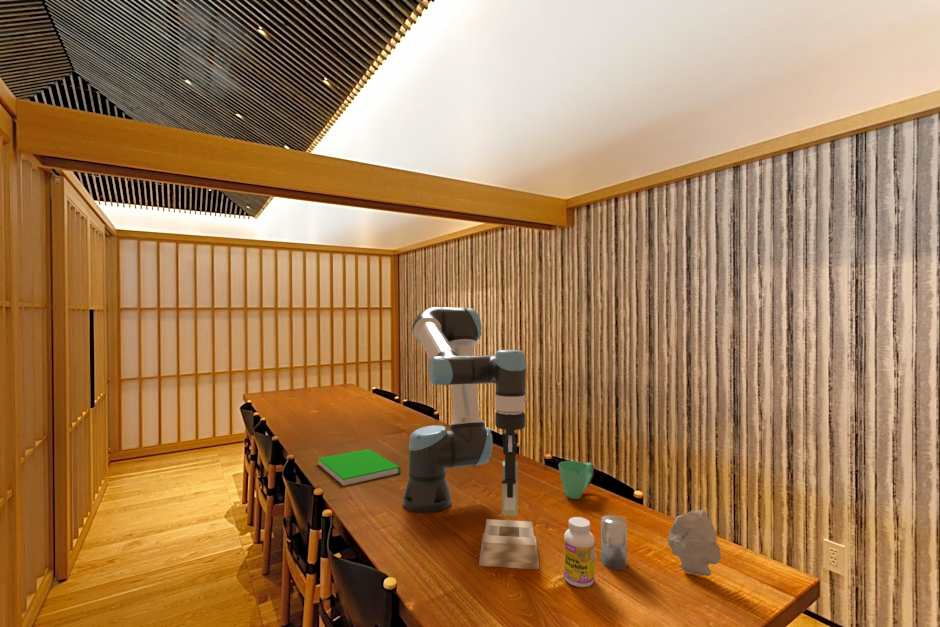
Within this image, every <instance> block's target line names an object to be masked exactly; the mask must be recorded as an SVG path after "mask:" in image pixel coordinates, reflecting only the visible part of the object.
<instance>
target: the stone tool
mask: <svg viewBox="0 0 940 627" xmlns="http://www.w3.org/2000/svg"><path fill="white" fill-rule="evenodd" d="M667 542H668V544H667V545H668V546H669V548H670V549H671V552H672V554H673V555H674V556H678V558H679V559H680V562H681V564H680V568H681V569H682V570H683V571H684V572H685V573H689V574H691V575H692V576H694V575H696V576H697V575H699V576H701V577H703V576H705V577H709V576H711V575H712V570H711V569H710V567H709V564H711V565H717V564H718V563H719V562H720V560H721V558H722V555H721V553H722V551H721V547H720V545H719V544H717V543H718V542H717V531H716V529H715V527H714V525H713V524H712V522H711V520H710V518H709V516H708V513H707V511H706V510H704V509H700V510H695V509H692V510H691V511H688V512H687V513H684V514H681V515H677V516H676V517H675V519H674V521H673V523H672V526H671V527H670V530H669V534H668V536H667Z"/></svg>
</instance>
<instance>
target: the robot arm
mask: <svg viewBox="0 0 940 627" xmlns="http://www.w3.org/2000/svg"><path fill="white" fill-rule="evenodd" d="M482 329H483V328H482V323H481V318H480V315H479V314H478V312H477V311H476V309H473V308H469V307H468V308H467V307H443V306H442V307H441V306H440V307H439V306H433V307H429V308H426V309H424V310H422V311H421V312H420V313H418V314H417V315H416V317H415V318H414V320H413V321H412V325H411V331H412V335H413V337H414V339H415V340H416V341H417V342H418V343H419V344H421V346H422V347H423V349H424V351H425V353H426V355H427V357H428V358H429V360H428V361H429V362H428V366H427V367H428V369H427V370H428V378H429V382H430V383H431V384H432V385H436V386H438V385H439V386H448V385H449V386H450V385H451V396H452V397H451V398H452V409H453V410H452V411H453V420H452V421H451V423H450V424H449V430H447V428H446V426H444V425H439V424H438V425H435V424H434V425H426V426H423V427H420V428H417V429H415V430H414V431H412V432H411V434H410V436H409V443H408V444H409V446H408V452H409V453H408V454H409V455H408V456H409V460H408V466H409V467H408V479H407V483H406V487H405V490H404V493H403V496H402V505H403V507H404V508H405V509H406V510H409V511H411V512H414V513H420V514H421V513H422V514H423V513H424V514H428V513H431V514H432V513H437V512H440V511H443V510H446V509H447V508H448V507H450V505H451V504H452V494H451V490H450V487H449V484H448V481H447V476H446V475H447V472H446V471H447V469H450V468H451V469H452V468H465V467H476V466H481V465H484V464H487V462H489V461H490V459H491V455H492V453H493V452H492V451H493V444H494V443H493V434H492V431H491V429H490V428H489V427H486V426H485V424H486V423H485V421H484V420H483V419H482V418H481V417H480V411H479V399H478V397H479V396H478V390H477V389H478V387H477V384H495V395H494V398H495V399H494V401H495V402H494V403H495V404H494V406H495V408H494V409H495V411H496V412H495V415H494V416H495V418H494V420H495V421H494V422H495V425H494V426H495V427H496V428H497V429H500V430H505V432H503V433H502V436H501V437H502V438H501V441H502V445H503V446H502V449H503V450H502V453H503V455H504V461H505V480H504V481H502V480H501V485H502V484H504V510H515V491H516V480H515V461H516V455H517V454H518V443H519V433H516V432H515V431H517V430H522V429H524V428H525V427H526V413H525V412H524V411H525V410H526V403H528V398H526V372H527V371H526V368H527V364H526V354H525V352H524V351H523V350H520V349H517V350H516V349H499V350H497V351H496V353H495V354H487V355H475V353H474V348H475V347H476V345H477V344H478V341H479V340H480V339H481V336H482Z"/></svg>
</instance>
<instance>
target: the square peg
mask: <svg viewBox="0 0 940 627" xmlns="http://www.w3.org/2000/svg"><path fill="white" fill-rule="evenodd" d="M501 468H502V472H501V474H502V475H501V476H502V479H501V482H502V481H504V480H505V460H502V467H501ZM515 480H516V491H515V510H504V484H502V483H501V487H502V488H501V490H502V494H501V497H502V500H501V504H502V505H501V506H502V507H501V510H502V511H501V515H502V516H512V517H513V516H514V517H516V516H518V515H519V514H518V513H519V510H518V508H519V505H518V504H519V496H518V494H519V492H518V491H519V487H518V486H519V463H518V461H516V460H515Z"/></svg>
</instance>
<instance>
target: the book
mask: <svg viewBox="0 0 940 627" xmlns="http://www.w3.org/2000/svg"><path fill="white" fill-rule="evenodd" d="M317 460H318V465H319V466H320V467H321V468H322V469H323V470H325V471H326V472H327V473H328V474H329V475H330V476H331V477H333V478H334V479H335V480H336V481H337V482H339V484H341V485H342V486H348V485H352V484H357V483H361V482H366V481H367V482H368V481H370V480H375V479H378V478H379V479H380V478H383V477H389V476H393V475H398V473H399V474H401V472H402V469H401V467H400V466H399V465H397V464H396V463H393V462H392V461H391V460H388V459H387V458H385V457H383V456H381V455H380V454H378V453H376V452H375V451H373V450H371V449H370V448H367V449H362V450H355V451H350V452H346V453H338V454H333V455H328V456H324V457H318V458H317Z"/></svg>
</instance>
